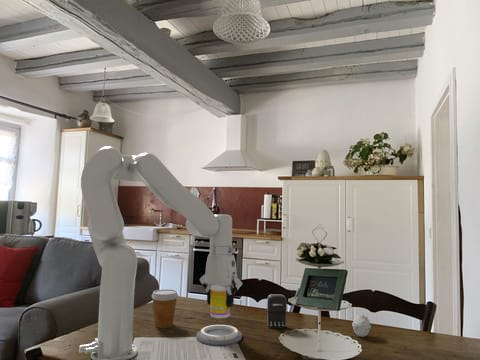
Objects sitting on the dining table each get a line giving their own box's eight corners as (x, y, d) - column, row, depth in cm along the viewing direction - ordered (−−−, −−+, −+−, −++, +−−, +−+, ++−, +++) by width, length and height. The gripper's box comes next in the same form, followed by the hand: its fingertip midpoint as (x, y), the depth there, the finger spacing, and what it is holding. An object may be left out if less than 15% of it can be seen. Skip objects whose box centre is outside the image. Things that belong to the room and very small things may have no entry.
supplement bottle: (227, 319, 114) (227, 278, 115) (207, 318, 115) (208, 278, 117) (231, 313, 121) (232, 275, 122) (213, 312, 122) (213, 274, 123)
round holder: (210, 349, 107) (210, 341, 107) (188, 334, 119) (188, 327, 120) (250, 339, 115) (250, 332, 115) (226, 327, 128) (226, 321, 128)
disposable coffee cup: (182, 326, 128) (183, 292, 129) (158, 331, 122) (159, 295, 123) (168, 320, 135) (169, 288, 137) (145, 324, 129) (147, 291, 130)
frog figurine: (373, 335, 122) (372, 314, 122) (368, 341, 116) (368, 319, 117) (355, 331, 125) (354, 311, 126) (349, 337, 119) (349, 316, 120)
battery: (267, 329, 126) (267, 296, 128) (266, 325, 130) (267, 293, 131) (287, 329, 126) (287, 296, 127) (285, 326, 130) (286, 294, 131)
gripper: (248, 251, 120) (248, 305, 118) (204, 248, 127) (204, 299, 126) (238, 253, 113) (238, 311, 111) (193, 250, 121) (192, 304, 119)
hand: (220, 304), depth 118 cm, fingers closed on supplement bottle, 6 cm apart
